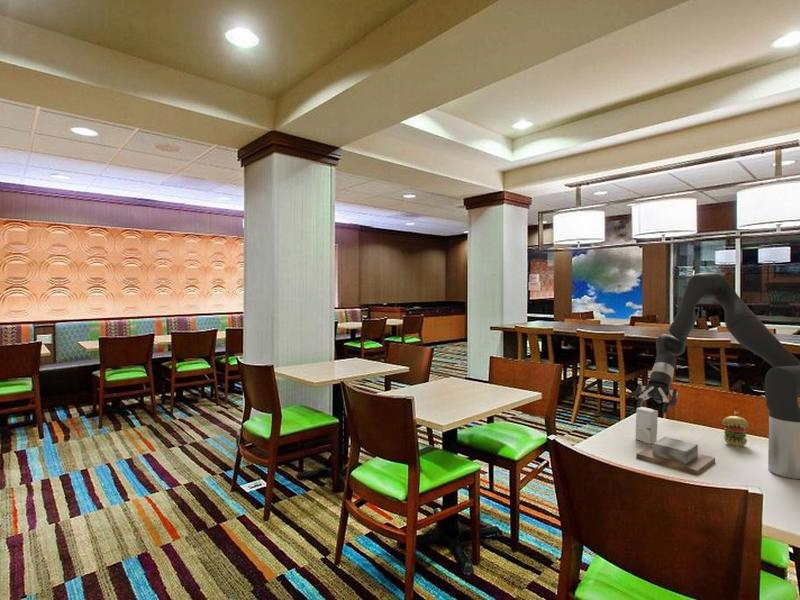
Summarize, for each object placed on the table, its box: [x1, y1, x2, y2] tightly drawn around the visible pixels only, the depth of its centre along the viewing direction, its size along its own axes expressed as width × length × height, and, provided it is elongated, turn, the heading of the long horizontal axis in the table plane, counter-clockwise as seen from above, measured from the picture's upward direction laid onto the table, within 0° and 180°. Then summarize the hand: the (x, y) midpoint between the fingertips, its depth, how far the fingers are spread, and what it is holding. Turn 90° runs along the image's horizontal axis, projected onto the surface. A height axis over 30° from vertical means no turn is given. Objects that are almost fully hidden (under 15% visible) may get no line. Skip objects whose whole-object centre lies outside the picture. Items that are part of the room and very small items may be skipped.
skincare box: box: [634, 406, 659, 445], centre depth 166 cm, size 6×4×12 cm
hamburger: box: [722, 410, 749, 447], centre depth 162 cm, size 8×7×12 cm
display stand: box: [636, 436, 716, 476], centre depth 148 cm, size 18×16×6 cm
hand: (651, 410), depth 169 cm, fingers open, 8 cm apart
